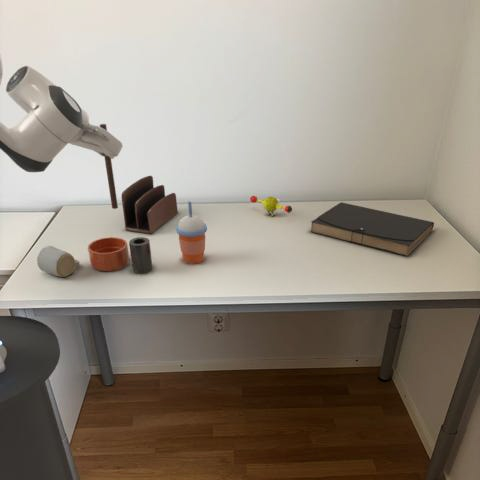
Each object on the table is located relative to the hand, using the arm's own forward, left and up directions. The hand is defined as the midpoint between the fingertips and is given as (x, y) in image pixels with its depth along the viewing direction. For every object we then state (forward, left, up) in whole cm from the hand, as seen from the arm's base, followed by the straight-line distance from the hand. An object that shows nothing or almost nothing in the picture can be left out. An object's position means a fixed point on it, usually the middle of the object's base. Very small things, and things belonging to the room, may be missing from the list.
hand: (109, 155), depth 134 cm
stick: (-1, 0, -14) cm, 14 cm away
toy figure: (+54, -23, -32) cm, 67 cm away
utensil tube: (0, -6, -32) cm, 33 cm away
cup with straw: (+12, -16, -32) cm, 38 cm away
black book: (+55, -59, -32) cm, 87 cm away
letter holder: (+31, +12, -32) cm, 46 cm away
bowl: (-1, +5, -32) cm, 33 cm away
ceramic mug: (-11, +14, -32) cm, 37 cm away
